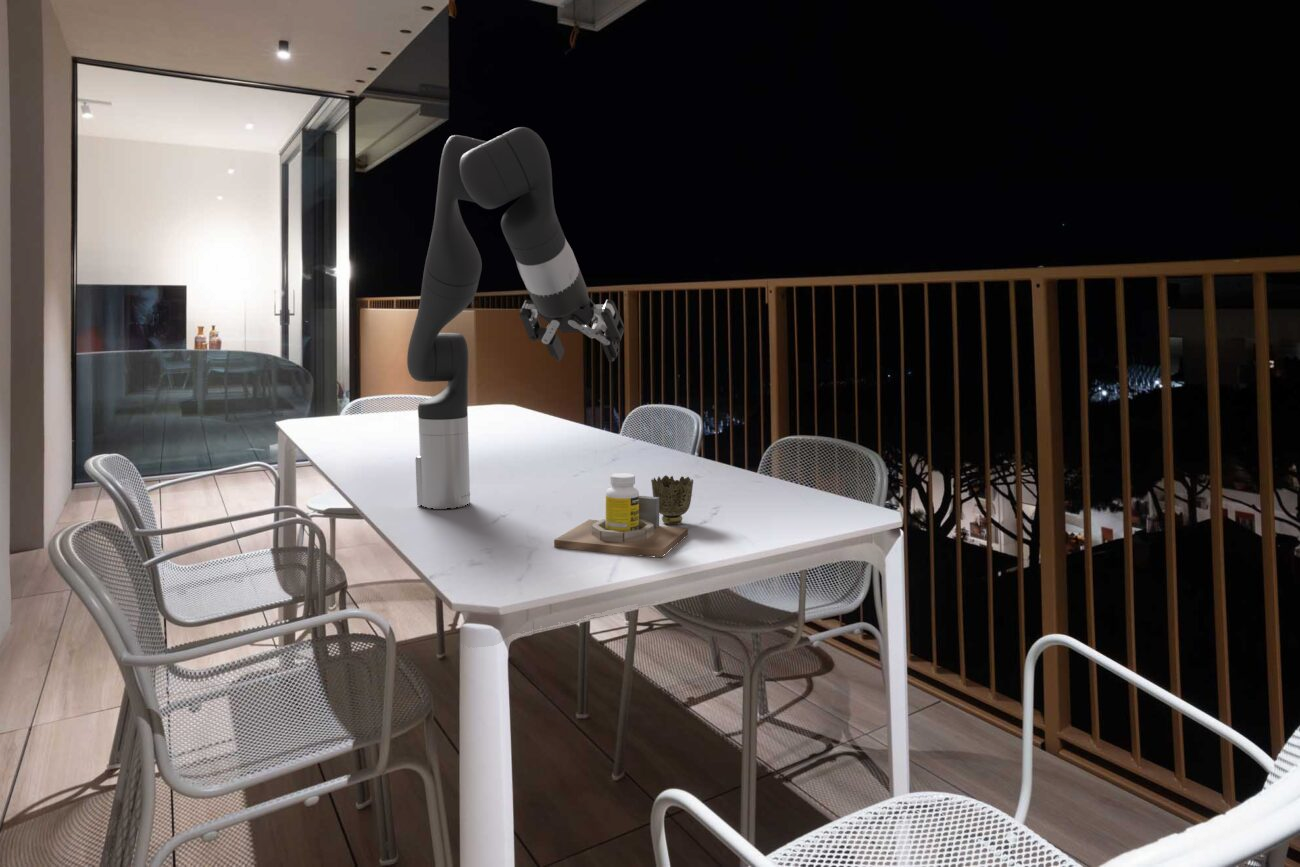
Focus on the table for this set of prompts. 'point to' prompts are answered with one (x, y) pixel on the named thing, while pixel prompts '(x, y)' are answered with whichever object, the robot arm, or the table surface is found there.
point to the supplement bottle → (622, 503)
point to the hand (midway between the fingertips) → (586, 356)
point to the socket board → (622, 548)
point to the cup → (672, 497)
